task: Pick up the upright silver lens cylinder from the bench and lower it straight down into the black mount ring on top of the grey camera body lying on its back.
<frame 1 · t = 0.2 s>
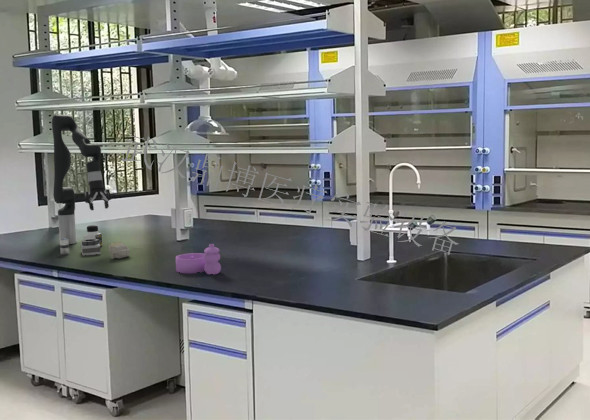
hand: (99, 209, 355), 22 cm above the counter, tool pointing down, fingers open, 8 cm apart
medicine bottle: (93, 246, 368), on the counter
container set: (200, 271, 293), on the counter
lens: (65, 254, 346), on the counter
fossil replica: (120, 258, 331), on the counter
camera body: (90, 253, 347), on the counter
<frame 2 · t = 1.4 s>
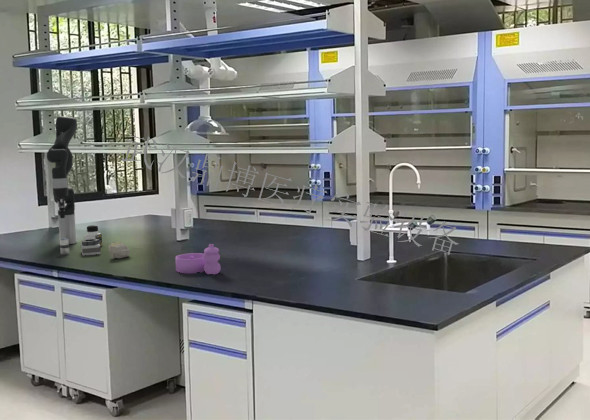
hand: (62, 217, 343), 20 cm above the counter, tool pointing down, fingers open, 8 cm apart
nothing on the counter moved.
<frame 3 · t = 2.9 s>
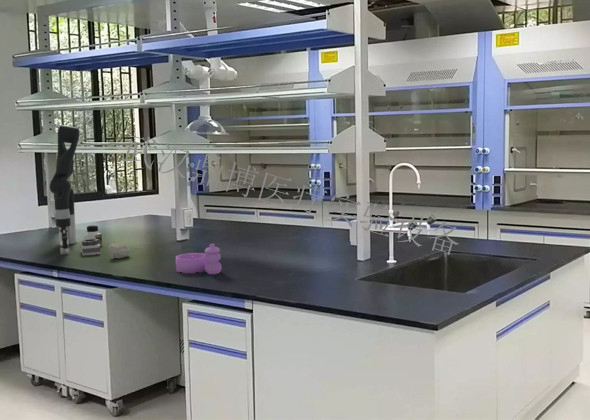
hand: (65, 247, 345), 4 cm above the counter, tool pointing down, fingers open, 8 cm apart
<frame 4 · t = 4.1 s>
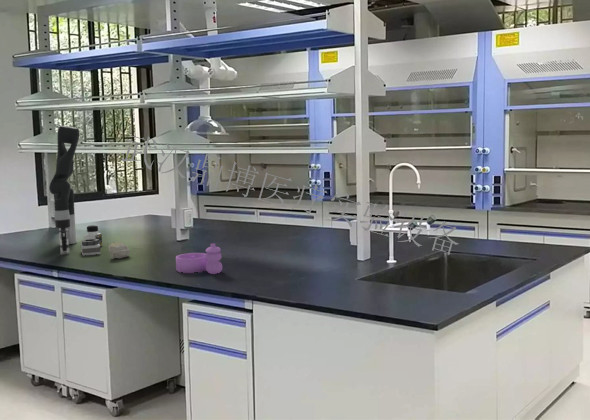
hand: (64, 249, 346), 2 cm above the counter, tool pointing down, fingers closed on lens, 4 cm apart
lens: (65, 254, 346), on the counter, touching gripper
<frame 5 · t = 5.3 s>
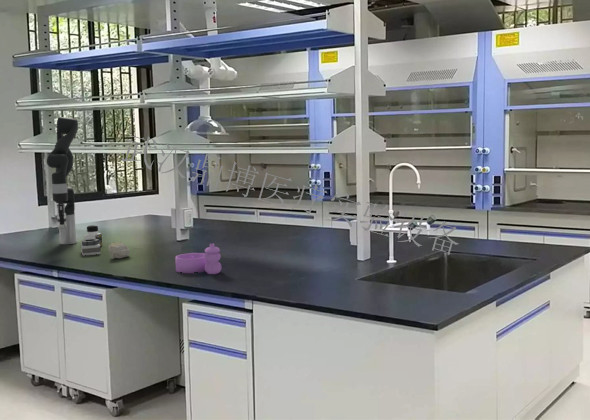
hand: (62, 223, 344), 17 cm above the counter, tool pointing down, fingers closed on lens, 4 cm apart
lens: (62, 228, 344), point 14 cm above the counter, touching gripper
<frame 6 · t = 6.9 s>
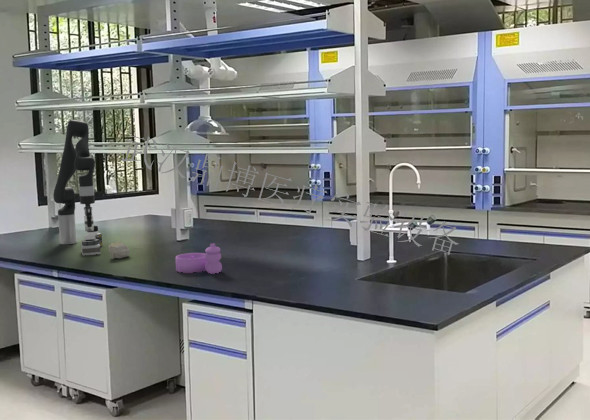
hand: (89, 226, 345), 15 cm above the counter, tool pointing down, fingers closed on lens, 4 cm apart
lens: (89, 230, 345), point 12 cm above the counter, touching gripper
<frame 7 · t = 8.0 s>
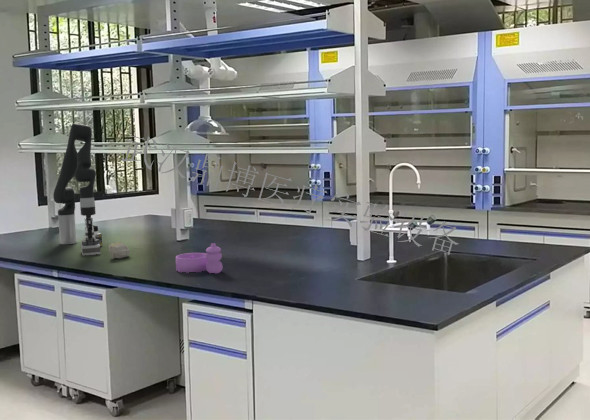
hand: (89, 237, 346), 9 cm above the counter, tool pointing down, fingers closed on lens, 4 cm apart
lens: (90, 241, 346), point 6 cm above the counter, touching gripper
when the fingers open (8 cm above the counter, at t = 8.4 s): lens stays where it is, resting on camera body.
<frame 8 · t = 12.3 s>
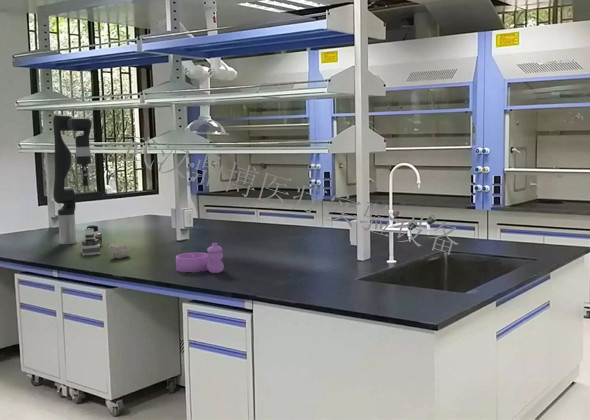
hand: (85, 185, 349), 36 cm above the counter, tool pointing down, fingers open, 8 cm apart
lens: (90, 243, 346), point 5 cm above the counter, touching camera body
at the end: lens 0.0 cm off-centre on the camera body, point 5.0 cm above the camera body's base; lens tilted 0°; the gripper is holding nothing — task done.
